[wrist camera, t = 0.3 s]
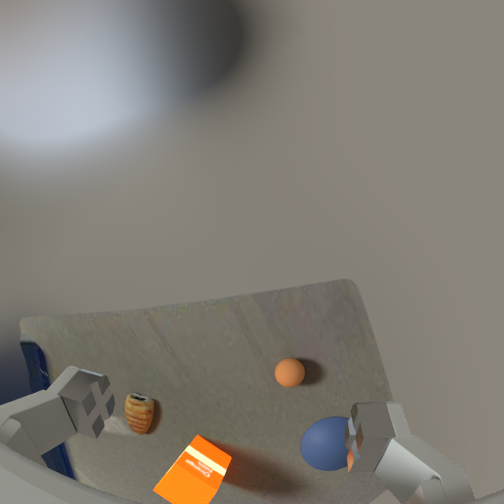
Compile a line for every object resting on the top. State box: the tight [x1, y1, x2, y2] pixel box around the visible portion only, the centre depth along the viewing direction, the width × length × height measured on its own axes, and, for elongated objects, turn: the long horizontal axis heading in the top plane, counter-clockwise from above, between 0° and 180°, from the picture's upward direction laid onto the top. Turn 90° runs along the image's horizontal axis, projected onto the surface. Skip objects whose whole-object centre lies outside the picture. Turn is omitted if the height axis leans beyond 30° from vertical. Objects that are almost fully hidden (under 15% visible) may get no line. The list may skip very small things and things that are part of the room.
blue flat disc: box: [301, 417, 350, 471], centre depth 55 cm, size 13×13×1 cm
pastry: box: [125, 393, 154, 435], centre depth 59 cm, size 9×7×4 cm
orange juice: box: [154, 435, 232, 504], centre depth 48 cm, size 8×9×20 cm
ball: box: [275, 358, 305, 387], centre depth 56 cm, size 6×6×6 cm
